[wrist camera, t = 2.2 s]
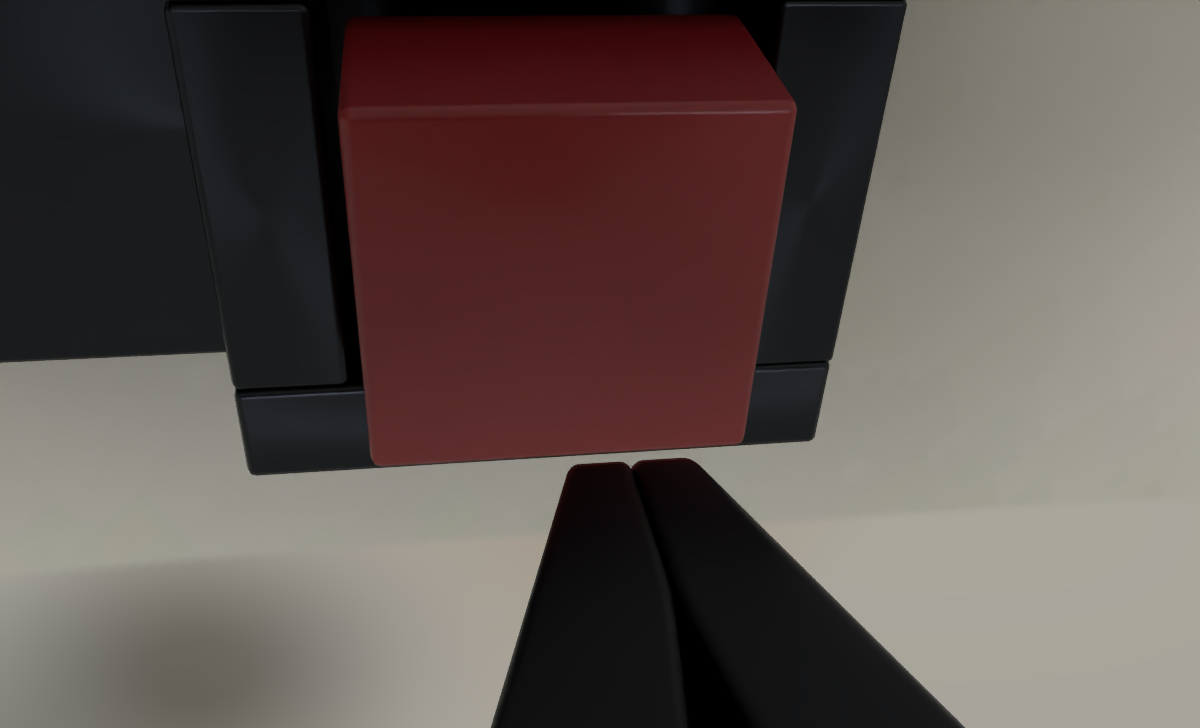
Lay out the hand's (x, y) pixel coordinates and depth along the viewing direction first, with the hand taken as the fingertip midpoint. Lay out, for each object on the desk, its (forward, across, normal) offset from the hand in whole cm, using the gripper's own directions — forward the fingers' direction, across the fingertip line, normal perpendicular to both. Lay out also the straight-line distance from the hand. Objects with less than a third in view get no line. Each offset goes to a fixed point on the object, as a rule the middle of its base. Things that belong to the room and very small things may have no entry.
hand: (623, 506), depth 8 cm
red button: (+5, 0, 0) cm, 5 cm away
